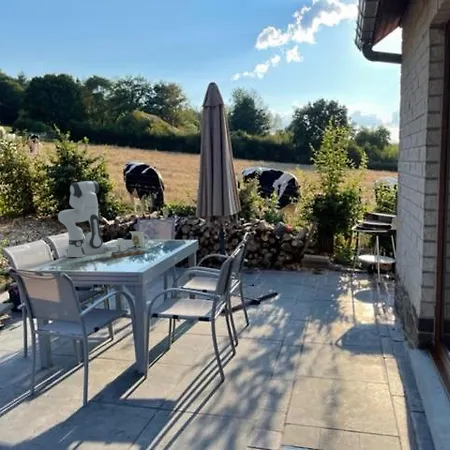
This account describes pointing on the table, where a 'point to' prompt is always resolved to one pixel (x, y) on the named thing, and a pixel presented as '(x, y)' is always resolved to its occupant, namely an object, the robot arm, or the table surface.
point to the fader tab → (121, 245)
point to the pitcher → (138, 238)
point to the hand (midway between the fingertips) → (119, 246)
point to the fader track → (128, 253)
